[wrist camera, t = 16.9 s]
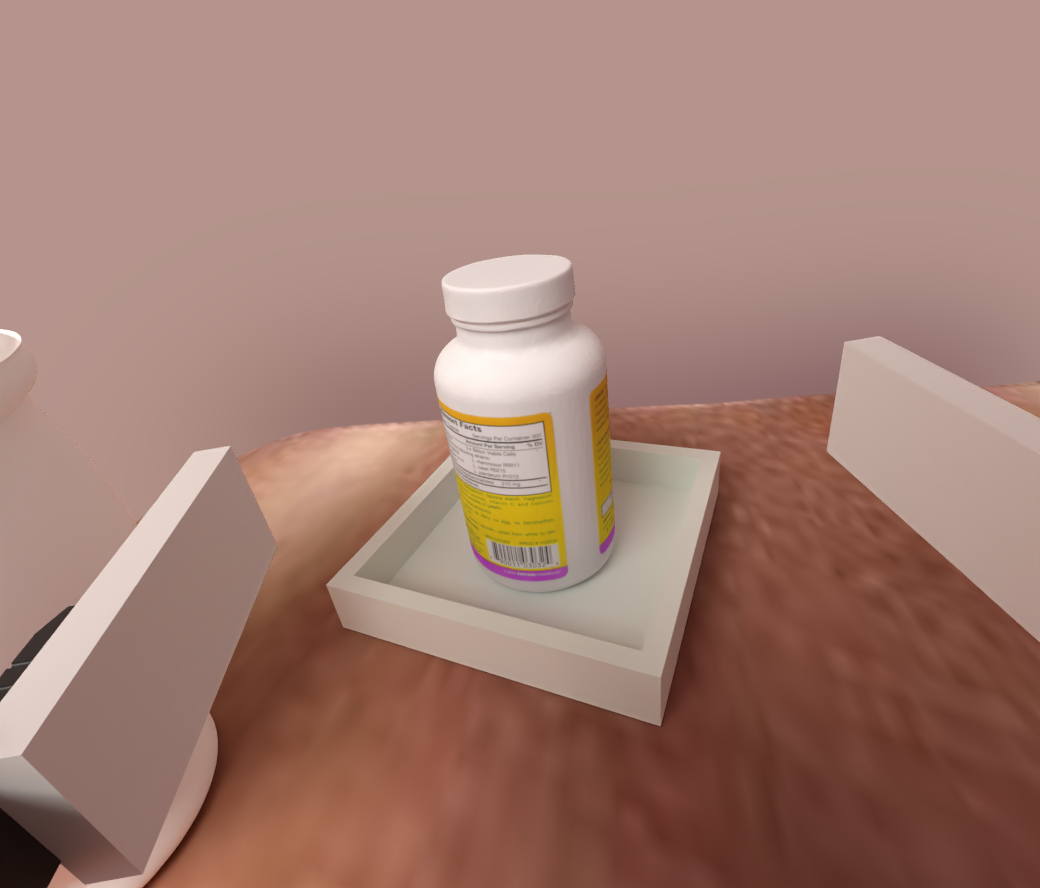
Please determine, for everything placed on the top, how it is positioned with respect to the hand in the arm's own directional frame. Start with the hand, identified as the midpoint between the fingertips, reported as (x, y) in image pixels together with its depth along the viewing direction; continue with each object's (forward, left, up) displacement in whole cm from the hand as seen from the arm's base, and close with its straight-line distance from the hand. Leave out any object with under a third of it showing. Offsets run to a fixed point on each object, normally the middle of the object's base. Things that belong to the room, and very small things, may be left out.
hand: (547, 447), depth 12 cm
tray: (+5, -9, -12) cm, 15 cm away
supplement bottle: (+5, -8, -11) cm, 15 cm away
